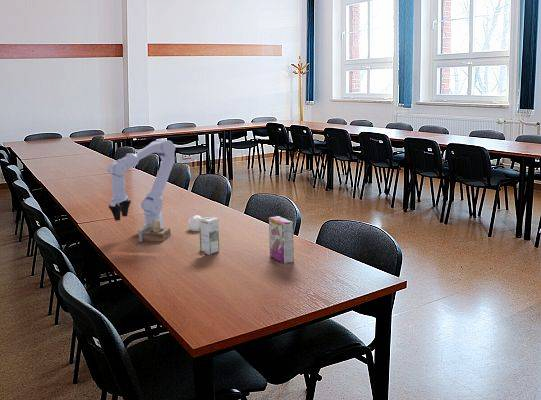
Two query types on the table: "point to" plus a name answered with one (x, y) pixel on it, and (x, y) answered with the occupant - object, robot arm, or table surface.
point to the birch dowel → (156, 226)
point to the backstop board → (143, 232)
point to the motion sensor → (194, 223)
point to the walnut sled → (156, 235)
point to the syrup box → (209, 235)
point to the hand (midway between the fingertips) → (121, 218)
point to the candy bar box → (281, 239)
